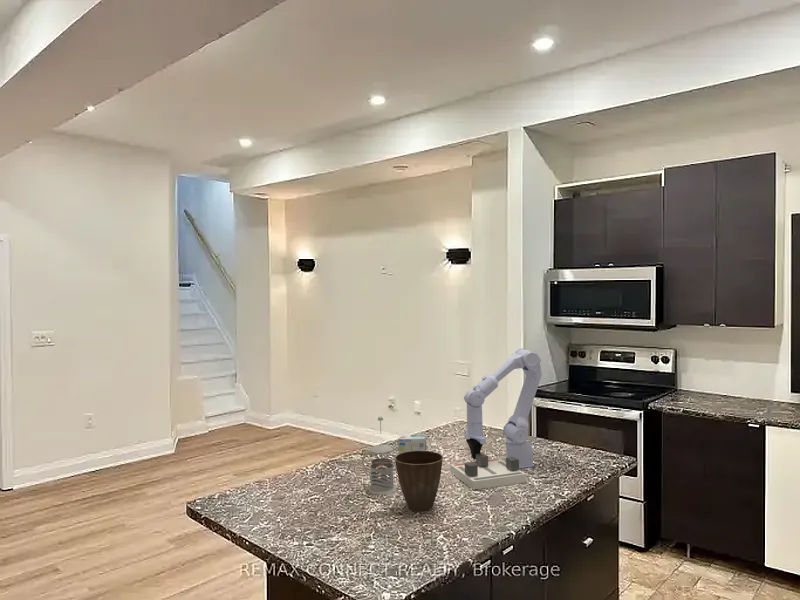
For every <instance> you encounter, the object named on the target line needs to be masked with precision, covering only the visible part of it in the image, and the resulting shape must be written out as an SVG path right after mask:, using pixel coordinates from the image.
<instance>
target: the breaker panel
mask: <svg viewBox="0 0 800 600" xmlns="http://www.w3.org/2000/svg"><path fill="white" fill-rule="evenodd" d="M449 466H450V467H449V470H450V472H451V473H450V474H452V475H453V476H454V475H455V476H454V477H455V478H457V479H459V480H460V481H461V482H462V483H463V482H464V484H465V485H466V484H467V485H468V487H469V488H470V487H471V488H472V490H473V491H476V490H475V489H478V490H484V489H483V488H485V489H490V488H491V487H492V488H497V486H499V487H504V486H505V485H506V486H511V485H512V484H513V485H519V484H524V483H525V484H526V483H527V473H526V472H524V471H522V470H520V468H519V460H518V459H517V458H515V457H507V458H506V457H505V460H503V459H502V458H499V457H498V458H492V459H491V458H488V466H485V467H480V466H478V465H477V464H476V460H474V461H468V462H459V463H452V464H450V465H449ZM467 485H466V486H467ZM471 488H470V489H471Z"/></svg>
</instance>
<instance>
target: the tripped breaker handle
mask: <svg viewBox="0 0 800 600" xmlns="http://www.w3.org/2000/svg"><path fill="white" fill-rule="evenodd" d="M488 460H489V456H488V455H487V454H485V453H481V452H480V454H476V459H475V461H476V464H477V465H478V466H480V467H485V466H488Z"/></svg>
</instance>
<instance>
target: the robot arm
mask: <svg viewBox="0 0 800 600" xmlns="http://www.w3.org/2000/svg"><path fill="white" fill-rule="evenodd" d="M541 361H542V359H541V358H540V356H539V354H538V353H537V352H536V351H533V350H528V349H525V348H519V349H517V350H515V352H514V353H511V354H510V356H509V358H508V359H507V360H506V361H505V362H504V363H503V364H502V365H500V367H499V368H497V370H495V372H494V373H493V374H492V375H488V374H487V375H486V376H483V377H482V378H481V381H479V382H478V383H476V385H473V386H472V388H471V389H468V390H466V392H465V394H464V396H463V400H464V401H465V403H466V429H464V435H463V436H464V437H465V438H466V439H465V441H466V443H467V445H468V448H469V451H470V453H471V459H472V460H476V454H481V452H482V451H481V450H482V448H483V445H485V444H487V438H486V437H485V434H484V431H483V429H484V428H483V404H484V403H485V400H486V398H487V397H488V396H490V395H491V394H492V393H493V392H494V391H495V390H496V389H497V388H498V387H499V382H500V381H501V380H503V379H505V377H506V376H508V375H509V374H510V373H512V372H513V371H515V370H517V369H518V370H519V369H522V371H523V372H524V375H525V378H524V381H523V385H522V388H521V389H520V390H521V391H520V394H519V396H518V399H517V402H516V405H515V408H514V412H513V414H512V415H511V416H510V417H509V418H508V421H507V422H506V423H505V424H504V426H503V429H502V432H503V435H504V436H505V438H506V439H505V456H506V457H505V459H506V458H507V457H515V458H517V459H518V460H519V469H524V468H526V469H527V468H531V467H535V465H534V463H533V462H534V457H533V456H534V453H533V446H532V443H531V442H530V441H528V437H529V433H528V431H529V427H530V426H529V422H528V417H529V415H530V412H531V409H532V406H533V402H534V400H535V397H536V393H537V390H538V387H539V385H540V381H541V379H542V369H541Z"/></svg>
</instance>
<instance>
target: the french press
mask: <svg viewBox="0 0 800 600" xmlns="http://www.w3.org/2000/svg"><path fill="white" fill-rule="evenodd" d="M377 421H379V422H380V423H379V424H380V425H379V427H380V433H382V421H384V418H383V416H378V417H377ZM393 450H394V448H392V447H391V446H390V445H388V444H383V443H380V444H375V445H374V446H372V447H371V448H369V452H368V453H366V455H364V456H363V458H362V461H361V466H362V470H363V472H364V473H365V474H366V475H368V476H369V479H370V487H369V488H368V489H369V491H368V493H370V492H371V493H370V494H373V493H374V494H373V495H379V494H380V495H389V494H392V493H395V492H396V491H397V489H396V488H397V486H395V485H394V483H395V482H394V481H395V480H394V465H393V460H392V459H390V458H389V457H388V458H386V457H383V454H384V455H386V454H390V453H392V452H393ZM372 454H376V455H380V457H379V458H374V459H372V460H371V462H370V463H371V466H370V471H368V470H367V468H366V467H365V459H366V457H367V456H369V458H370V459H371V458H372ZM383 466H384V467H383ZM377 467H378V468H377Z"/></svg>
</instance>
